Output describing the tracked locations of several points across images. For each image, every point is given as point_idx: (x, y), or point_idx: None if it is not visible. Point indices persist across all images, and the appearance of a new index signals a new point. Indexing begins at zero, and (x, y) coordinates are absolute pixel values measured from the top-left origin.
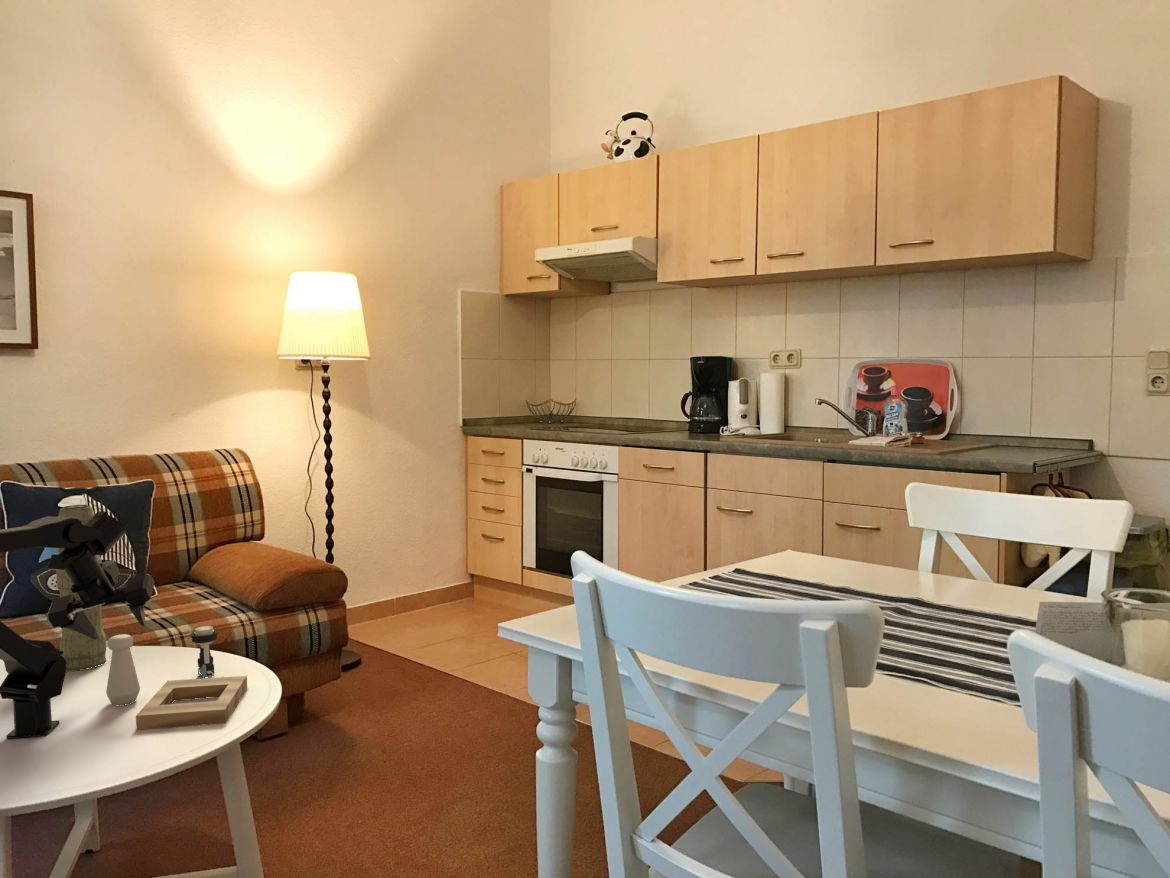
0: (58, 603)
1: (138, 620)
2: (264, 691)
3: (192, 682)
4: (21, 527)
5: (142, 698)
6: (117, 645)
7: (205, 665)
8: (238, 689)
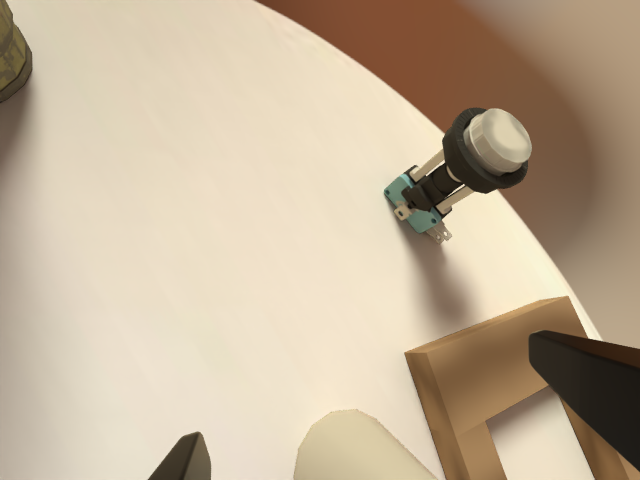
0: None
1: (627, 453)
2: None
3: (496, 362)
4: None
5: (363, 405)
6: None
7: (439, 216)
8: None
